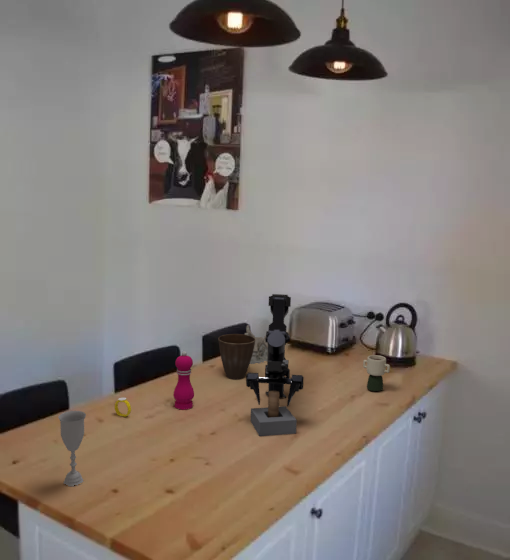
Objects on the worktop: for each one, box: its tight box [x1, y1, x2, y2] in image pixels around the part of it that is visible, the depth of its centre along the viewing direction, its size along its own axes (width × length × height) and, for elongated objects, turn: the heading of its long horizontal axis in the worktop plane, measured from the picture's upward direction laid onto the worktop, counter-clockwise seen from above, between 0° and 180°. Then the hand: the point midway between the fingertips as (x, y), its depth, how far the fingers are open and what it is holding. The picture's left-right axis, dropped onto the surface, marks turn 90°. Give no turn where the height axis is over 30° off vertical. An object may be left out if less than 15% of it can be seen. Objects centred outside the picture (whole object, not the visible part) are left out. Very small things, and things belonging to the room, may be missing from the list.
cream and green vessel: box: [362, 354, 391, 392], centre depth 235 cm, size 11×7×13 cm, turn 56°
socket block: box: [250, 405, 298, 437], centre depth 197 cm, size 12×12×4 cm
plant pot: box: [217, 333, 255, 380], centre depth 246 cm, size 15×15×16 cm
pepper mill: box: [172, 350, 195, 411], centre depth 211 cm, size 7×7×20 cm
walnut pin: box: [267, 391, 280, 418], centre depth 196 cm, size 4×4×11 cm
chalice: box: [58, 410, 87, 487], centre depth 157 cm, size 7×7×18 cm
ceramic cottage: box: [244, 324, 268, 365], centre depth 272 cm, size 16×16×15 cm
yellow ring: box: [114, 397, 132, 418], centre depth 203 cm, size 6×3×6 cm, turn 62°
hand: (273, 405), depth 195 cm, fingers open, 9 cm apart
